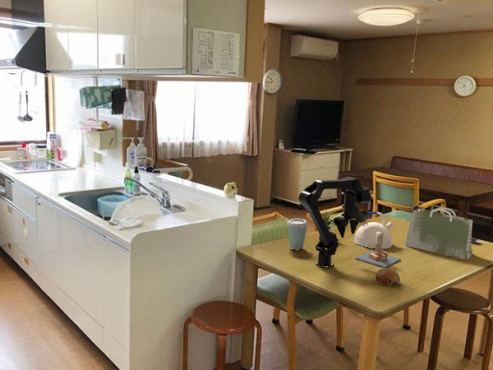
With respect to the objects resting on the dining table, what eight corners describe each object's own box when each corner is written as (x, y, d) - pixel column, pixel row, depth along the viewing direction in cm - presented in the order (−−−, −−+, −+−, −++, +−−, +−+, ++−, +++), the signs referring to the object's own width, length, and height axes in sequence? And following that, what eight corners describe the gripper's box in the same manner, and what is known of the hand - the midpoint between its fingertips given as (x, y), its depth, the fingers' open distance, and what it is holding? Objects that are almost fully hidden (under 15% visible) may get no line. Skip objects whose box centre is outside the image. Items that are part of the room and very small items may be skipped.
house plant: (316, 242, 241) (318, 213, 238) (306, 235, 254) (308, 207, 251) (340, 241, 245) (342, 212, 242) (328, 234, 258) (331, 207, 255)
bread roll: (395, 287, 194) (394, 269, 197) (404, 286, 185) (403, 267, 187) (373, 287, 194) (372, 268, 196) (381, 286, 184) (380, 266, 186)
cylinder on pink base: (374, 260, 215) (377, 234, 212) (368, 257, 219) (370, 231, 217) (387, 259, 217) (389, 233, 215) (380, 255, 222) (383, 230, 219)
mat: (385, 268, 207) (385, 266, 207) (354, 258, 218) (355, 257, 218) (400, 260, 218) (400, 258, 218) (371, 252, 229) (371, 250, 229)
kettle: (397, 250, 235) (401, 217, 231) (358, 248, 235) (361, 215, 232) (386, 238, 255) (389, 208, 251) (350, 237, 255) (353, 206, 252)
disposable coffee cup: (299, 253, 223) (301, 224, 221) (281, 248, 230) (283, 220, 227) (309, 248, 232) (311, 220, 229) (292, 243, 238) (293, 216, 235)
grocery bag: (473, 253, 234) (479, 210, 229) (467, 260, 223) (473, 215, 218) (411, 240, 253) (416, 200, 248) (403, 246, 242) (408, 204, 238)
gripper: (355, 210, 196) (352, 243, 199) (375, 204, 210) (372, 236, 212) (333, 205, 204) (331, 238, 207) (354, 200, 217) (352, 230, 220)
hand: (347, 235), depth 211 cm, fingers open, 9 cm apart
